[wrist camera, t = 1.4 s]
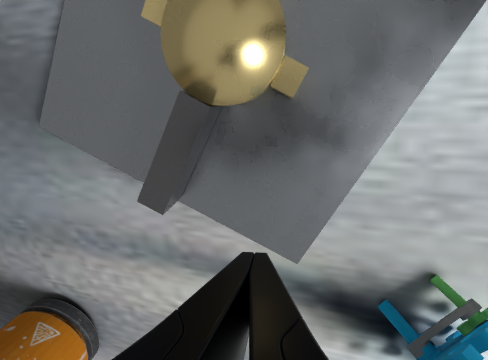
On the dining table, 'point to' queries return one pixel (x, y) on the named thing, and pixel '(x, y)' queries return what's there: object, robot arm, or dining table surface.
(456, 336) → the blue branched piece
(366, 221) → the dining table surface
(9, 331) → the canister
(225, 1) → the gold lugged knob
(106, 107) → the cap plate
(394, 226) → the dining table surface
